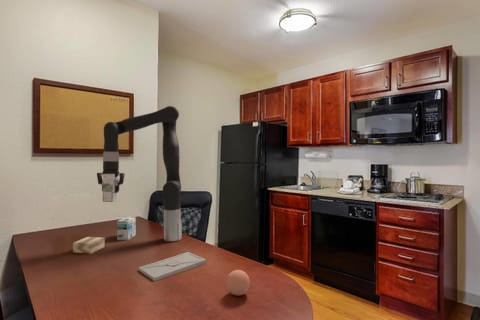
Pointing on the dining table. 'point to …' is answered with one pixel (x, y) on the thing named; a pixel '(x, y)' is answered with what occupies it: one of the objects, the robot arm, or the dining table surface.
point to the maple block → (88, 245)
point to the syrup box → (109, 188)
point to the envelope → (172, 266)
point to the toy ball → (238, 282)
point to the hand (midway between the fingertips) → (110, 192)
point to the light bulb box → (126, 228)
